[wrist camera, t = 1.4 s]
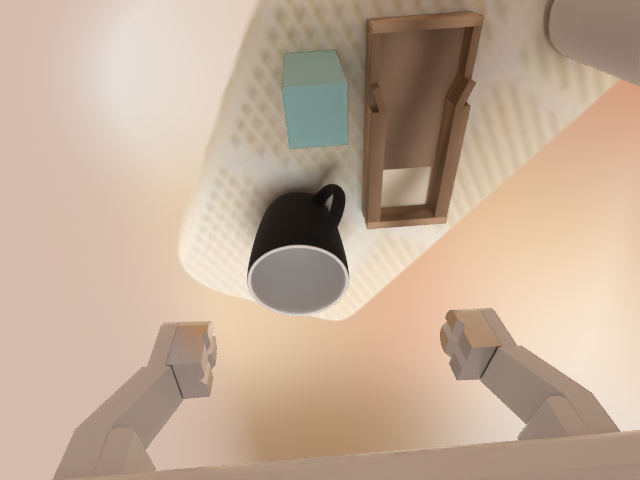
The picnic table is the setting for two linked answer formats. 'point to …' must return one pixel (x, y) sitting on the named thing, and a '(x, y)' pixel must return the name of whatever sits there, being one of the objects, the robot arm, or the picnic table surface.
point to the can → (599, 34)
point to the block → (315, 99)
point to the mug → (300, 254)
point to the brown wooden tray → (415, 114)
